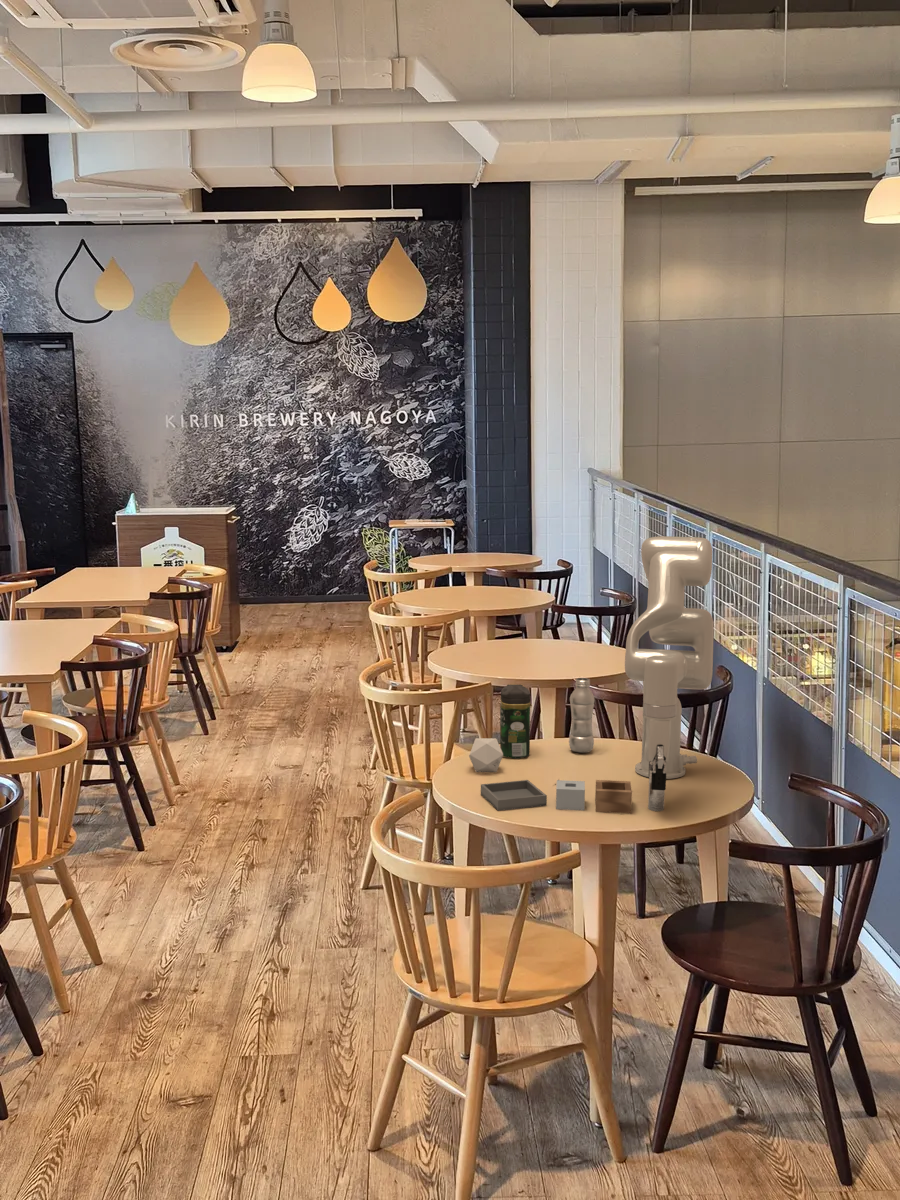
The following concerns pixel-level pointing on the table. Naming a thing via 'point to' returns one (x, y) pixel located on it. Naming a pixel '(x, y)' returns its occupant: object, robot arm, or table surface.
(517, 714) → the coffee jar
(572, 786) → the small block
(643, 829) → the table surface
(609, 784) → the block
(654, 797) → the spice jar
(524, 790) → the tray
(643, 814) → the table surface
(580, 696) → the plastic bottle
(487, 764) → the die
